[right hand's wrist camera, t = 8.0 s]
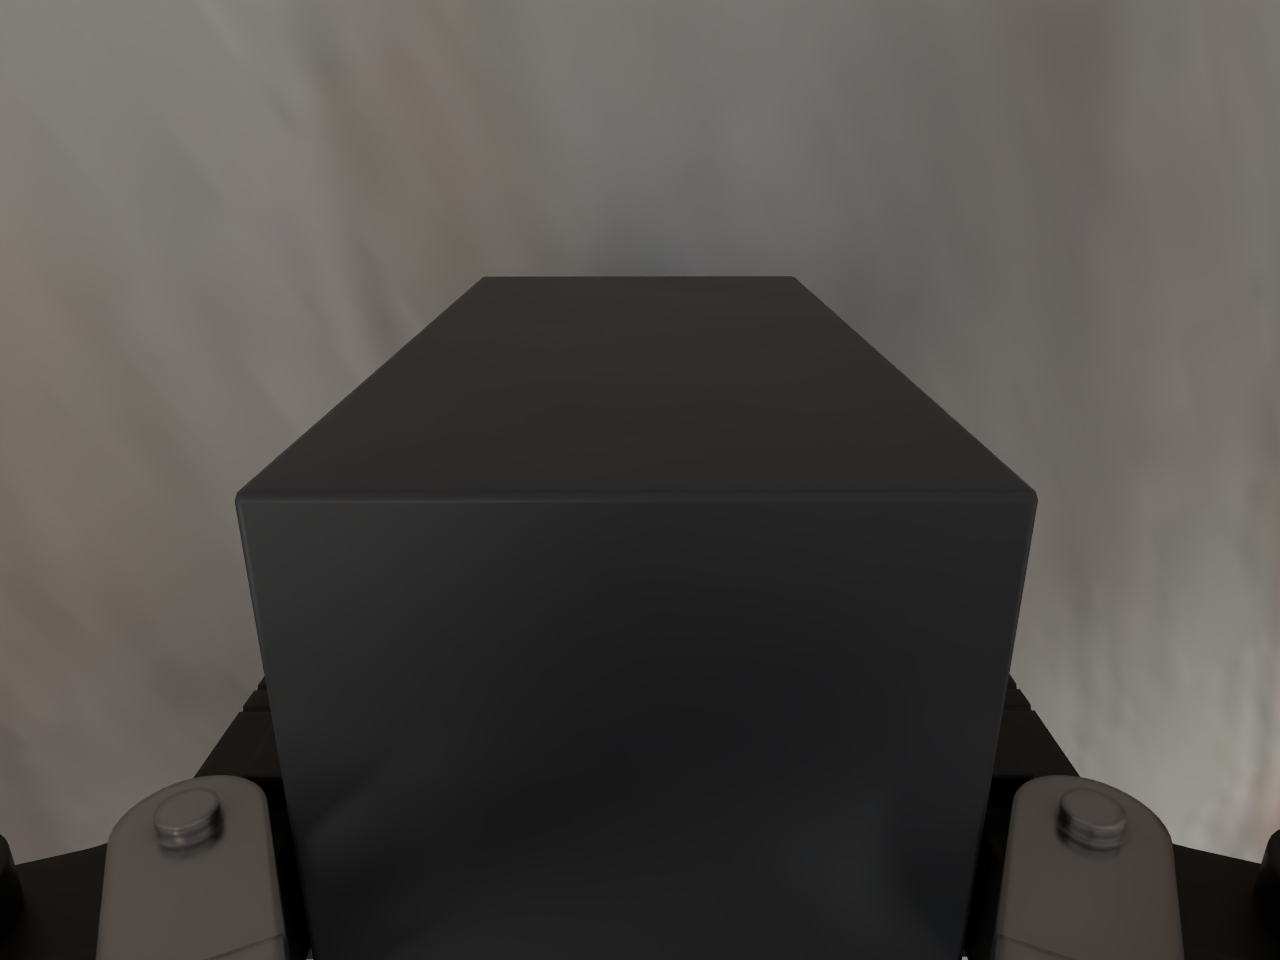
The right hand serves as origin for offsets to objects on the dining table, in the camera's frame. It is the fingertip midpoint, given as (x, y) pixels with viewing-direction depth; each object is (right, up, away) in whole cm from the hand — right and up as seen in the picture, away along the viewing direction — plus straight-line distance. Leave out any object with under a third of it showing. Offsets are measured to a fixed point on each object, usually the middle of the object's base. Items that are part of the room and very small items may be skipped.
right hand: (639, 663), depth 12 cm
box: (0, -5, +9) cm, 11 cm away
